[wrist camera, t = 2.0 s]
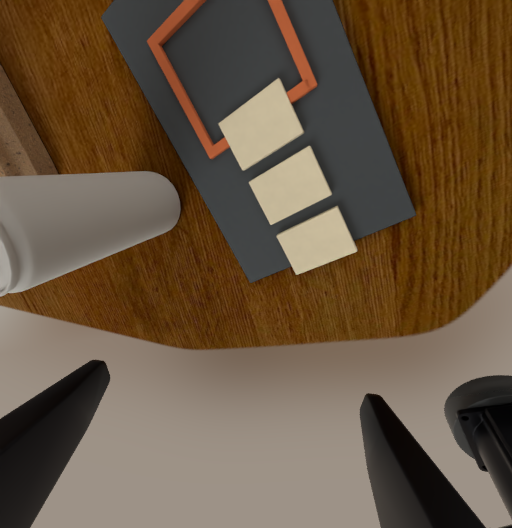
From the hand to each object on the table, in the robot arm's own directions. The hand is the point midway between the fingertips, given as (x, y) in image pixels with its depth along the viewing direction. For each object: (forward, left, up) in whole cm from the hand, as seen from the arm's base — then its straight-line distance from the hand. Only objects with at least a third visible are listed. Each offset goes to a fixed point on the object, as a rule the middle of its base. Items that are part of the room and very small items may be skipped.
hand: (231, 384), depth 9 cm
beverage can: (+9, +7, -12) cm, 17 cm away
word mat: (+10, -3, -12) cm, 16 cm away
